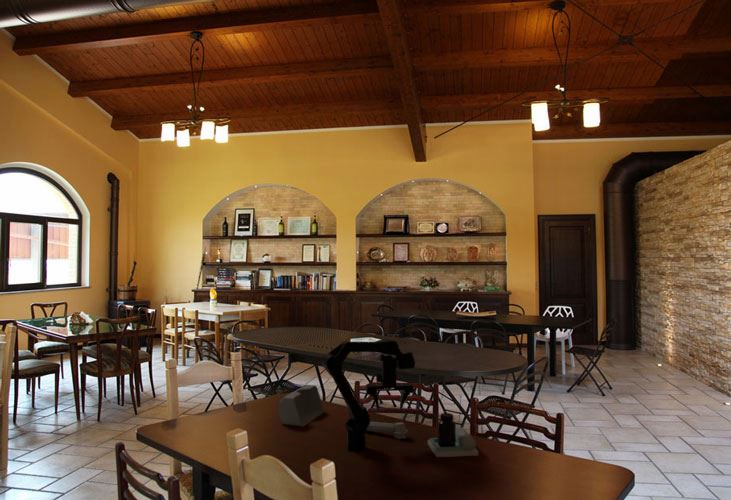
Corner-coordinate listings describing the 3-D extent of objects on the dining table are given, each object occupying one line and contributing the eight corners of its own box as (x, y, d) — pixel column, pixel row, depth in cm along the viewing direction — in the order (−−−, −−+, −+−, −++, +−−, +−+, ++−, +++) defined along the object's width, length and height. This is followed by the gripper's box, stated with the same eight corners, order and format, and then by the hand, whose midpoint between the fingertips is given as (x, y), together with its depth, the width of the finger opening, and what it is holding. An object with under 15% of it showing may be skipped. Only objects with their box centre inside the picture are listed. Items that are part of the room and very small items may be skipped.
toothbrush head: (356, 418, 226) (408, 419, 214) (358, 434, 225) (410, 435, 214) (350, 422, 221) (403, 422, 210) (352, 438, 221) (405, 439, 209)
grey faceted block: (294, 408, 254) (294, 383, 255) (324, 411, 249) (324, 385, 249) (269, 423, 231) (269, 395, 231) (302, 427, 226) (302, 398, 226)
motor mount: (436, 457, 192) (436, 439, 192) (427, 443, 206) (427, 427, 206) (478, 455, 194) (478, 437, 194) (466, 442, 208) (466, 426, 208)
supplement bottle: (434, 444, 200) (434, 413, 201) (447, 441, 204) (447, 410, 204) (446, 450, 195) (446, 418, 195) (459, 446, 198) (459, 415, 199)
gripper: (408, 366, 216) (408, 403, 216) (364, 367, 214) (363, 405, 214) (413, 372, 205) (413, 411, 205) (367, 373, 203) (367, 413, 203)
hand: (389, 410), depth 207 cm, fingers open, 9 cm apart
